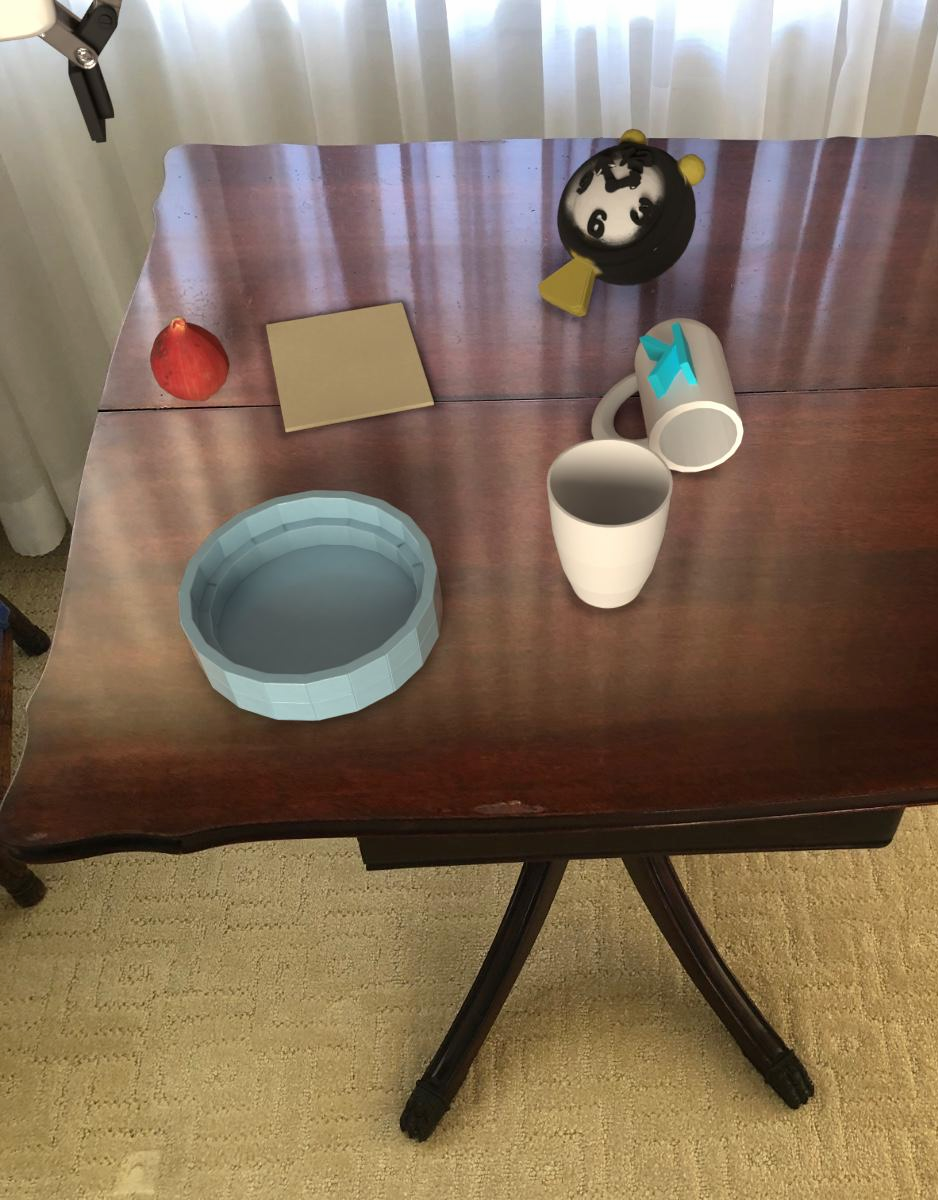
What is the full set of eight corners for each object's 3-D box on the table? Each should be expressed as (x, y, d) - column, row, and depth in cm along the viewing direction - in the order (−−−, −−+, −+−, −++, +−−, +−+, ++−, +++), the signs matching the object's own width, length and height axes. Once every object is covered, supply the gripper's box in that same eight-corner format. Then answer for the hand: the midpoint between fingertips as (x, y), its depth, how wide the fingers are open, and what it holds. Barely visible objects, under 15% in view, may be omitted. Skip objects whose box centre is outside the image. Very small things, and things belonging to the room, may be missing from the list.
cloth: (286, 432, 88) (284, 428, 87) (266, 328, 96) (265, 324, 96) (434, 405, 90) (433, 401, 90) (402, 305, 98) (402, 301, 98)
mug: (693, 269, 85) (719, 368, 78) (728, 353, 92) (754, 452, 85) (556, 325, 88) (567, 426, 81) (599, 403, 95) (614, 503, 87)
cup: (673, 550, 80) (683, 449, 73) (651, 635, 75) (659, 537, 68) (565, 530, 81) (564, 429, 74) (537, 613, 76) (532, 514, 69)
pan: (207, 751, 69) (187, 711, 66) (189, 560, 79) (171, 517, 76) (465, 689, 72) (459, 648, 69) (417, 513, 82) (409, 470, 79)
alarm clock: (537, 294, 106) (537, 125, 100) (687, 297, 107) (697, 129, 100) (538, 318, 95) (538, 130, 89) (704, 321, 96) (716, 135, 90)
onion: (175, 431, 88) (144, 350, 81) (158, 388, 91) (127, 307, 85) (247, 409, 89) (222, 328, 83) (227, 368, 93) (202, 287, 86)
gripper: (60, -270, 52) (166, 91, 65) (-355, -246, 48) (-154, 130, 61) (60, -223, 47) (174, 155, 60) (-399, -192, 44) (-171, 201, 57)
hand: (8, 142), depth 61 cm, fingers open, 9 cm apart
